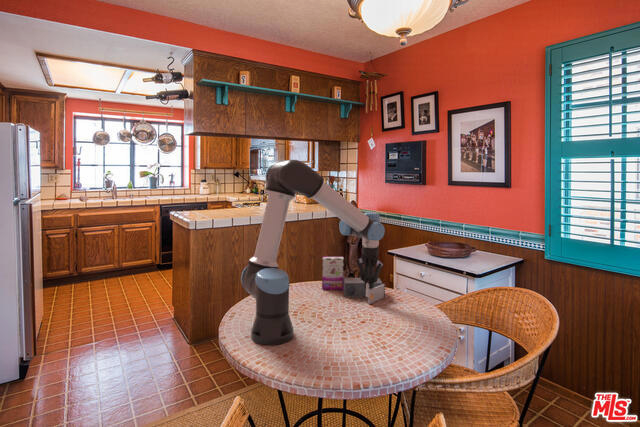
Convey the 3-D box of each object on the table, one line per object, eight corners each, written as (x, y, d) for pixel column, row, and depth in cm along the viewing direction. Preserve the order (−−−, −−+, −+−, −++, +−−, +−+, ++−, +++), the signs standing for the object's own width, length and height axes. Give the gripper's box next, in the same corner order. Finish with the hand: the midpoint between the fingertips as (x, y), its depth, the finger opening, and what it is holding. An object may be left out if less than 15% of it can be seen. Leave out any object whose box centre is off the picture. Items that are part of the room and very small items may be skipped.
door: (371, 304, 161) (371, 290, 161) (367, 303, 163) (368, 289, 162) (386, 298, 171) (387, 284, 170) (383, 297, 172) (383, 283, 171)
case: (345, 298, 170) (345, 282, 169) (343, 291, 181) (343, 276, 180) (382, 298, 171) (383, 282, 170) (378, 291, 181) (379, 276, 180)
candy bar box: (343, 287, 187) (344, 256, 186) (343, 290, 182) (344, 258, 181) (322, 286, 188) (322, 256, 186) (321, 289, 183) (322, 258, 181)
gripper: (353, 245, 164) (352, 295, 167) (379, 249, 157) (376, 301, 159) (362, 243, 170) (360, 291, 173) (386, 247, 163) (384, 297, 165)
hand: (368, 296), depth 166 cm, fingers closed
